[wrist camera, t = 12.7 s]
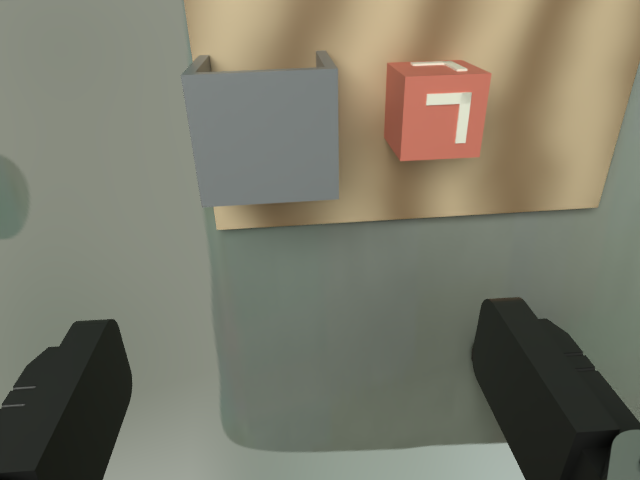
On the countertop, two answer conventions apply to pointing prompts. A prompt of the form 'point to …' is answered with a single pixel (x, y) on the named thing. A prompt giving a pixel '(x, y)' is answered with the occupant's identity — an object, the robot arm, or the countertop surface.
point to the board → (439, 45)
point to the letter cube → (435, 109)
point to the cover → (264, 133)
